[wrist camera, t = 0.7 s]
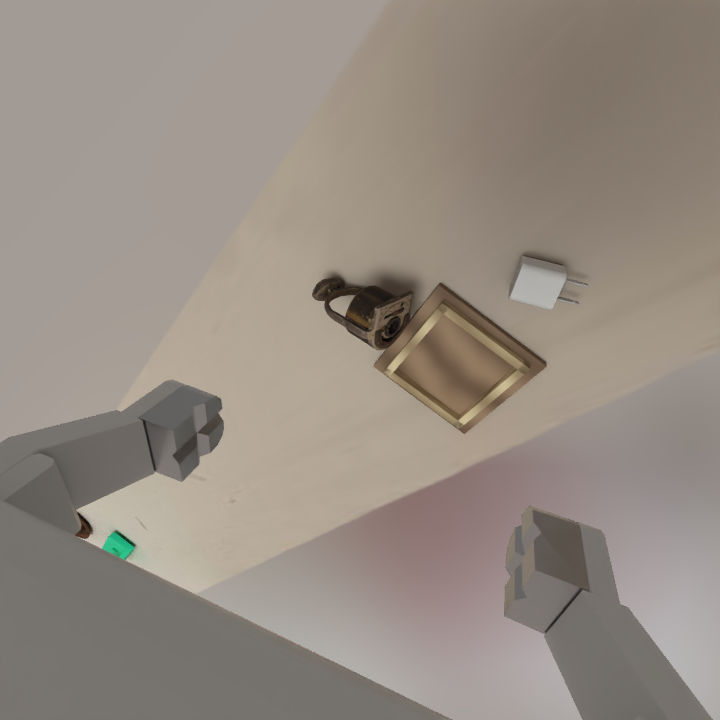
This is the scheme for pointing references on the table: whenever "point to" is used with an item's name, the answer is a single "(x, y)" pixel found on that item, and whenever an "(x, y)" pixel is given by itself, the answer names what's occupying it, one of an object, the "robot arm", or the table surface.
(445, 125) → the table surface
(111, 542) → the camera mount
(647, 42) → the table surface
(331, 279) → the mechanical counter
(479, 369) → the picture frame
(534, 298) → the usb wall charger
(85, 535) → the cup and saucer
